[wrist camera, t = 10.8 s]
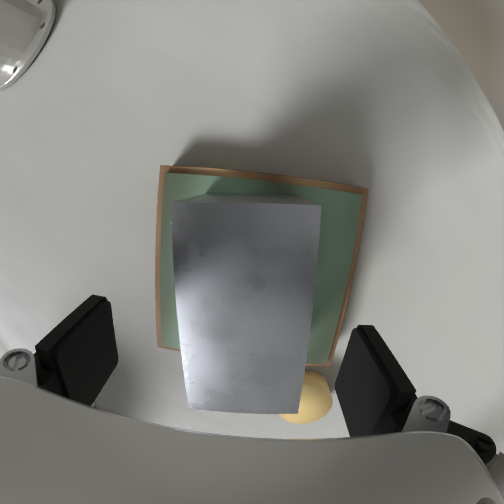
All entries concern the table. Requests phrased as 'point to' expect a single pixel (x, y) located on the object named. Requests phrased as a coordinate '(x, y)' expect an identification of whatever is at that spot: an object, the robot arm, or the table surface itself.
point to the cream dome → (312, 399)
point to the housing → (245, 298)
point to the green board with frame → (329, 253)
